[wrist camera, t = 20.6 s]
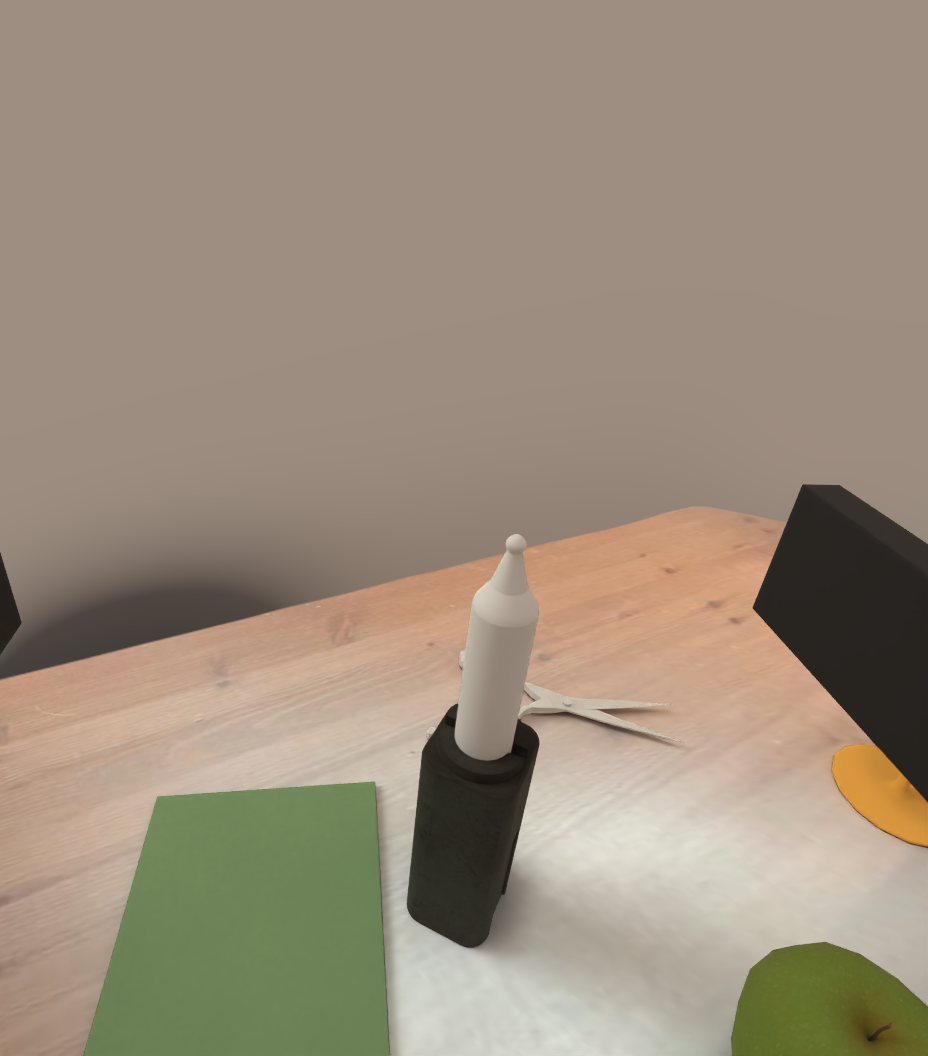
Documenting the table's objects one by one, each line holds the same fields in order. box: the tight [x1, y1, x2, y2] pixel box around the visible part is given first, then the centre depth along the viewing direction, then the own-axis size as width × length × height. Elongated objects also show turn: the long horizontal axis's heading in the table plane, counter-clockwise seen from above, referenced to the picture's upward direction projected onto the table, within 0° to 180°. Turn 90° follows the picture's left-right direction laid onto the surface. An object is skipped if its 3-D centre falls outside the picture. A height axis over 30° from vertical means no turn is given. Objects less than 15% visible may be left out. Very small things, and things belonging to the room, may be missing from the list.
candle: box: [407, 534, 539, 947], centre depth 32 cm, size 5×5×25 cm
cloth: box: [84, 782, 390, 1056], centre depth 36 cm, size 14×16×1 cm
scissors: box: [427, 649, 684, 743], centre depth 52 cm, size 11×1×20 cm
